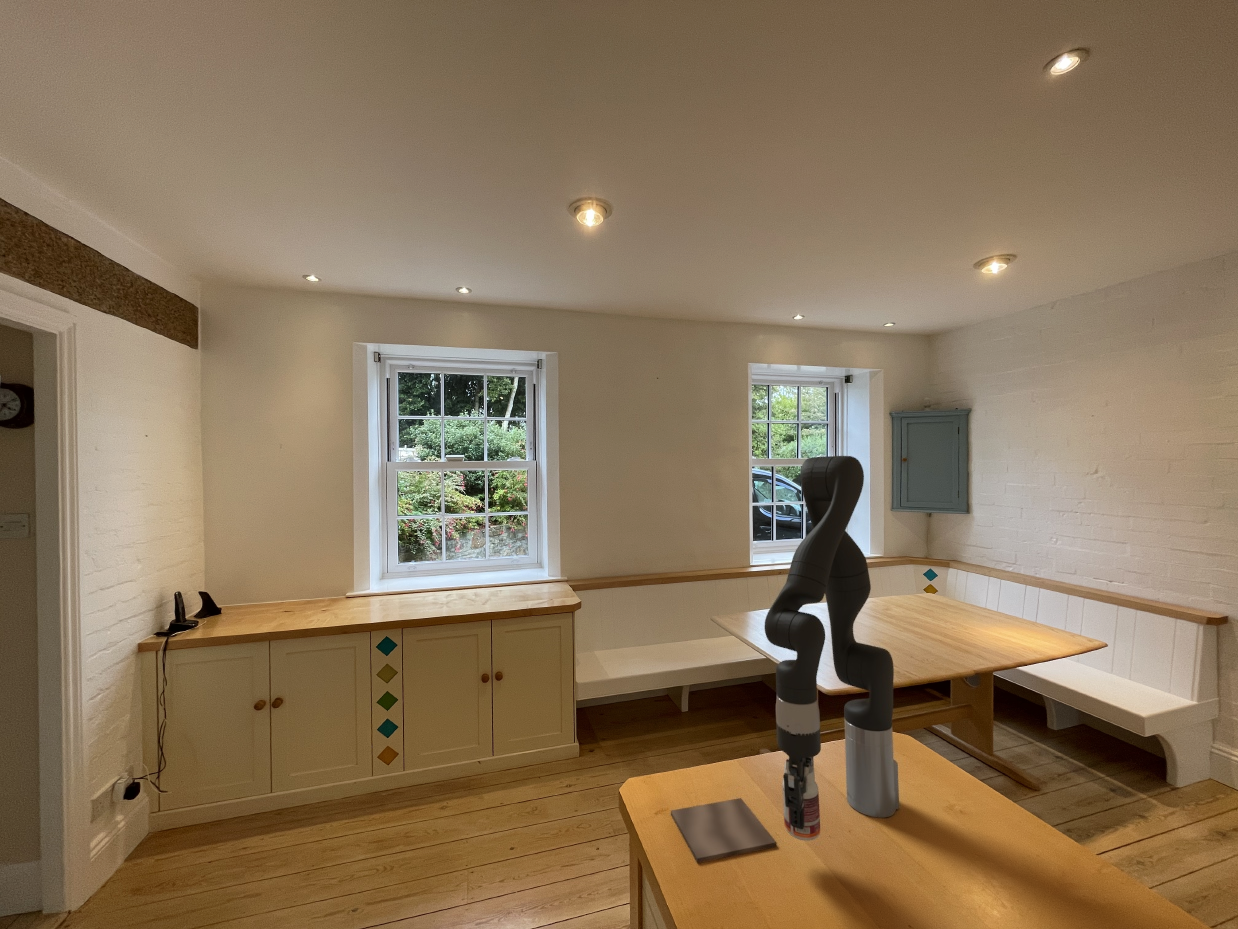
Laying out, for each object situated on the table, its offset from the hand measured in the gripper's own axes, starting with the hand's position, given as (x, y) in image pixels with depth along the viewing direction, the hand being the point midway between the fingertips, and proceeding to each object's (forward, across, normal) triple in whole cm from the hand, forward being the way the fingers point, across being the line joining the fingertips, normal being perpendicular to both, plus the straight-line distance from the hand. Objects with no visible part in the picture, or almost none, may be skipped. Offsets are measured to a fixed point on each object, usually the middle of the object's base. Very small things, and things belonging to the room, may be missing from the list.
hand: (801, 815), depth 91 cm
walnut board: (+8, -1, -16) cm, 18 cm away
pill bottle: (+3, 0, 0) cm, 3 cm away
